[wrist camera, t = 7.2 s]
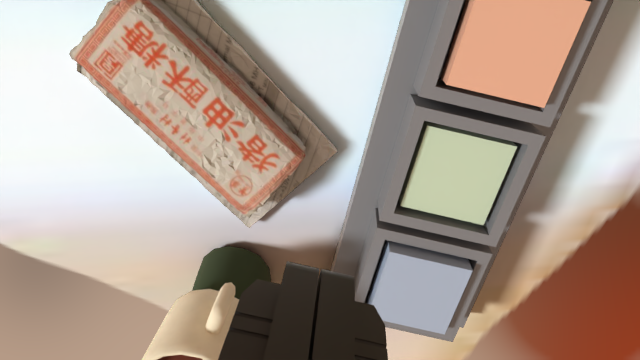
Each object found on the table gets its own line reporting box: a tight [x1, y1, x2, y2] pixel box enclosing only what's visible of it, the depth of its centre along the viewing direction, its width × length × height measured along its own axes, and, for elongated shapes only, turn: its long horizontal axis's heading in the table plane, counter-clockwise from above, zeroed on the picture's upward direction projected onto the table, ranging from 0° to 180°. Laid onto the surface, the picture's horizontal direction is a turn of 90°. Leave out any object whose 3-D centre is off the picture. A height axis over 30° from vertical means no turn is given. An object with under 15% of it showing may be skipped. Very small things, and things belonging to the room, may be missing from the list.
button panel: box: [330, 0, 613, 342], centre depth 32 cm, size 28×12×5 cm, turn 168°
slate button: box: [367, 240, 473, 335], centre depth 34 cm, size 6×6×2 cm
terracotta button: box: [441, 0, 591, 108], centre depth 27 cm, size 6×6×2 cm
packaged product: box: [70, 0, 338, 228], centre depth 33 cm, size 18×5×10 cm
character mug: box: [142, 246, 271, 360], centre depth 35 cm, size 11×7×13 cm, turn 158°
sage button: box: [399, 121, 517, 225], centre depth 32 cm, size 6×6×2 cm
